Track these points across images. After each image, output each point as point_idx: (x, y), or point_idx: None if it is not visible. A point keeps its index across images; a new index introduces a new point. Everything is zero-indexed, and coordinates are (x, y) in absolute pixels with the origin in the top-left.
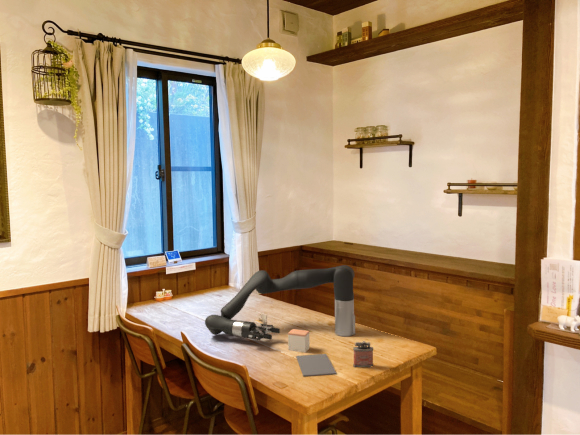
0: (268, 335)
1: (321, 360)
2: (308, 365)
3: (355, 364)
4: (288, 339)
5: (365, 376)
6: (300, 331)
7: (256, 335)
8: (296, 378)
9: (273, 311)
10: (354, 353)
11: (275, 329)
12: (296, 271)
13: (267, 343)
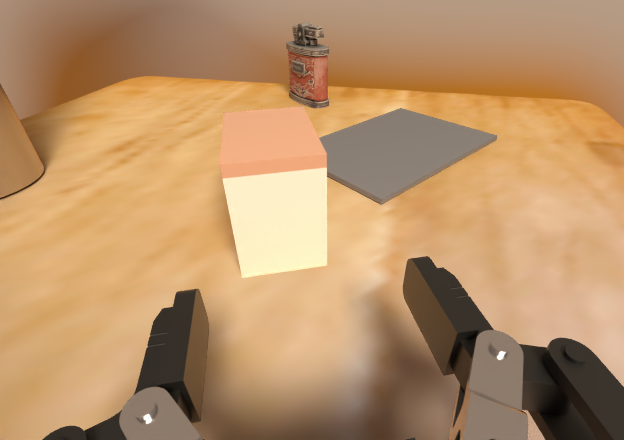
0: (441, 282)
1: (353, 141)
2: (423, 148)
3: (327, 97)
4: (326, 200)
5: (362, 90)
6: (255, 128)
7: (618, 398)
8: (527, 145)
9: None
10: (326, 63)
11: (195, 335)
12: None
13: None
